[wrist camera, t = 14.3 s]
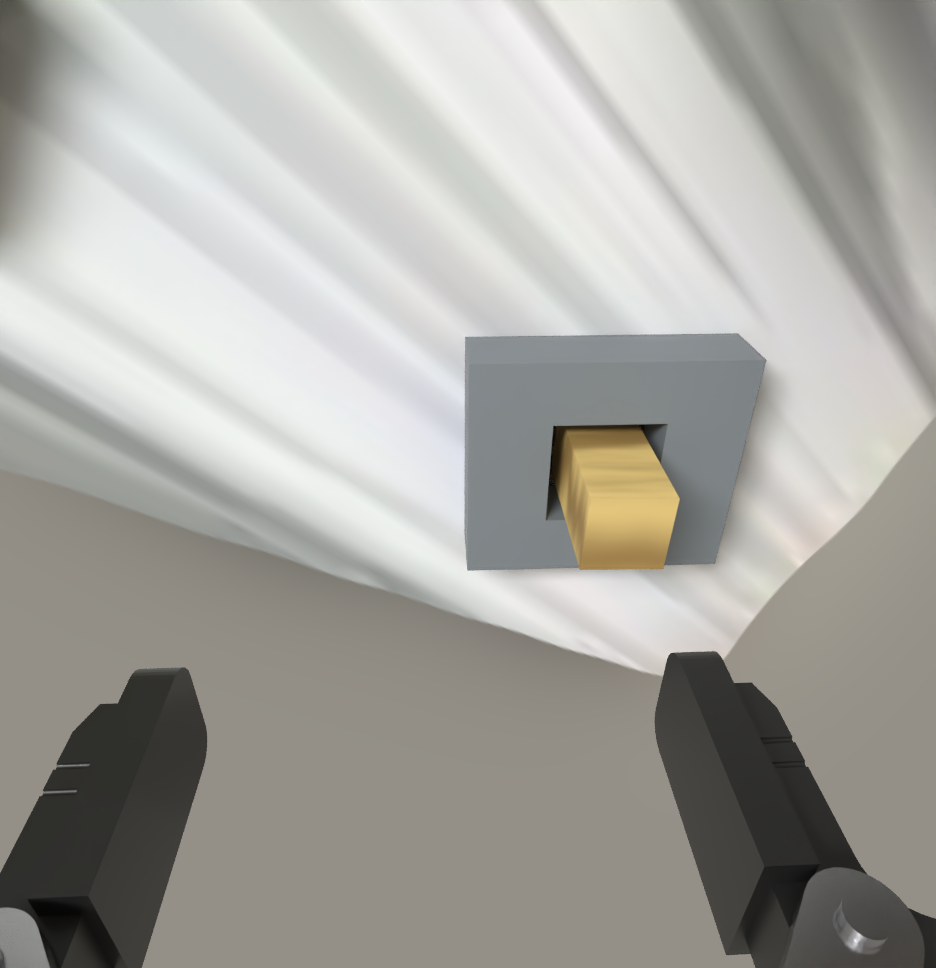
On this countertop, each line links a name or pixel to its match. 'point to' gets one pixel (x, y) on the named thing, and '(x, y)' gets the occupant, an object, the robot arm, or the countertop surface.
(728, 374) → the hole block
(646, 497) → the peg
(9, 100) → the countertop surface
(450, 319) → the countertop surface
